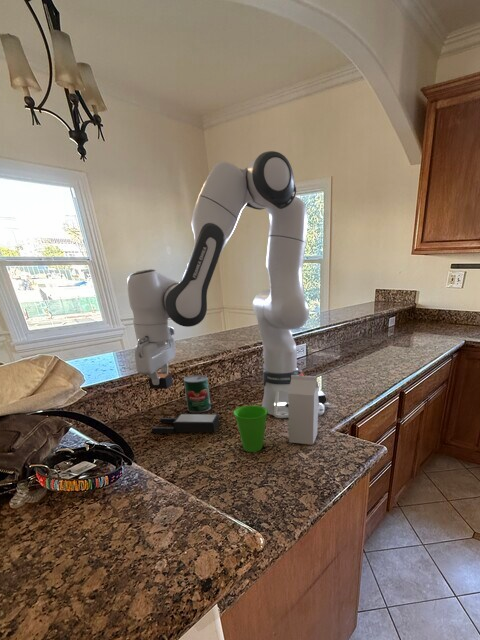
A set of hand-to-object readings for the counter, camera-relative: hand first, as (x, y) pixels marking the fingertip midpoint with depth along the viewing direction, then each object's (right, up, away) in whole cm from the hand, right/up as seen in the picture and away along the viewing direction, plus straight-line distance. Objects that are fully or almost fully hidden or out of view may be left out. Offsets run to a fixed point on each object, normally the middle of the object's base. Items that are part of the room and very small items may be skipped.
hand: (161, 380), depth 105 cm
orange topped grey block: (0, -1, +1) cm, 2 cm away
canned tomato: (+6, -7, +19) cm, 21 cm away
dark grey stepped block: (+6, -14, +5) cm, 16 cm away
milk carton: (+42, -17, -1) cm, 46 cm away
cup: (+29, -20, -7) cm, 35 cm away
